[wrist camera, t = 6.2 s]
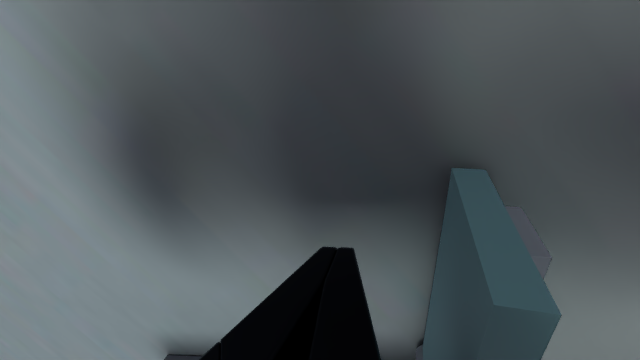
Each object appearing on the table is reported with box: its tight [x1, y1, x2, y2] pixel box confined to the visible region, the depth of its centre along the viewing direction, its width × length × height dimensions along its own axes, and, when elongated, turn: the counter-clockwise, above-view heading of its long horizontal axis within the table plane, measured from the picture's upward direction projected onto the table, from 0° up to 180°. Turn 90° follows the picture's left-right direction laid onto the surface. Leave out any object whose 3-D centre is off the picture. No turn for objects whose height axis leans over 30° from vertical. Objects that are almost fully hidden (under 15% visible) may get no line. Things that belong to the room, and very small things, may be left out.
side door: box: [416, 168, 561, 360], centre depth 8 cm, size 9×1×5 cm, turn 4°
